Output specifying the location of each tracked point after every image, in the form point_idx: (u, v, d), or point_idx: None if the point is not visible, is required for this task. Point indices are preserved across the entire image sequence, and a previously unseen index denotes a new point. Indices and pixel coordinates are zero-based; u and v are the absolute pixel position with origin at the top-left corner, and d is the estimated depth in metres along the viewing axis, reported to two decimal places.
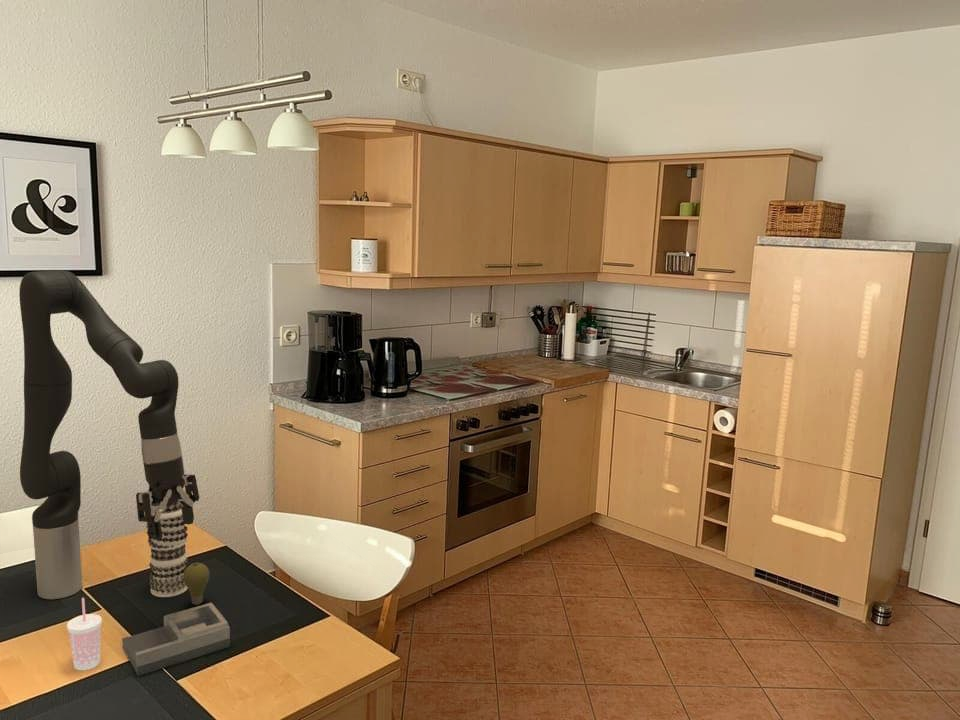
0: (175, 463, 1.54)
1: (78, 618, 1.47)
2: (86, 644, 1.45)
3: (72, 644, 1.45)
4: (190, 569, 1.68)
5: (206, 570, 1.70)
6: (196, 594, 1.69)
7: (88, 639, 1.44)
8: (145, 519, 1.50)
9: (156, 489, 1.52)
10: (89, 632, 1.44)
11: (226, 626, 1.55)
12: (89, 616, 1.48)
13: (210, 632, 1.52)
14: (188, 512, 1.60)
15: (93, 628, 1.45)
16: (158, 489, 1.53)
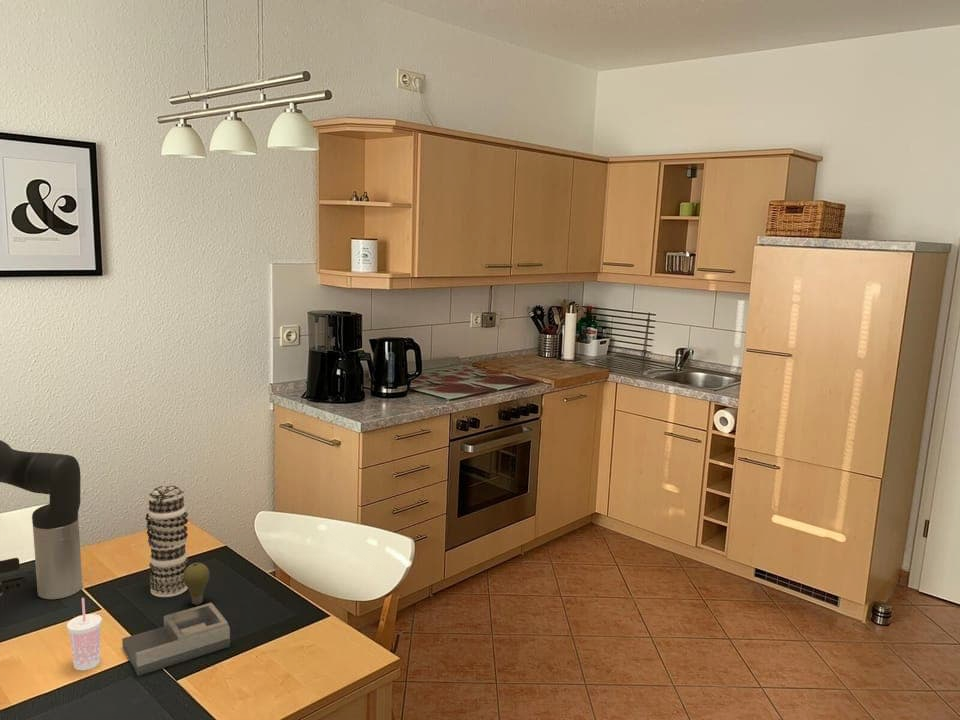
0: None
1: (78, 618, 1.47)
2: (86, 644, 1.45)
3: (72, 644, 1.45)
4: (190, 569, 1.68)
5: (206, 570, 1.70)
6: (196, 594, 1.69)
7: (88, 639, 1.44)
8: None
9: None
10: (89, 632, 1.44)
11: (226, 626, 1.55)
12: (89, 616, 1.48)
13: (210, 632, 1.52)
14: None
15: (93, 628, 1.45)
16: None
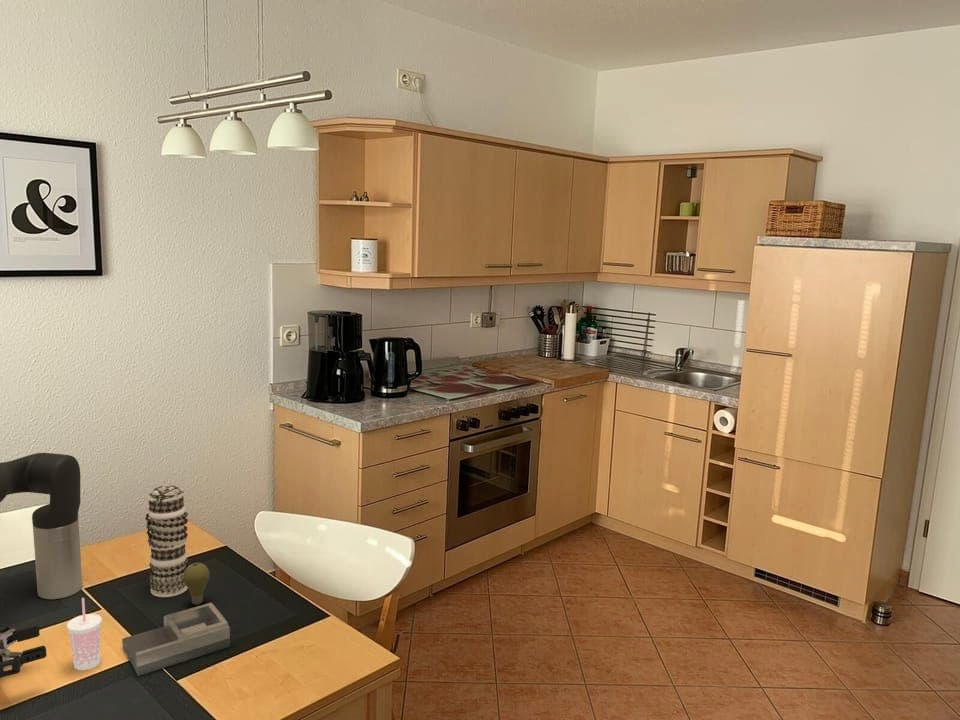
0: None
1: (78, 618, 1.47)
2: (86, 644, 1.45)
3: (72, 644, 1.45)
4: (190, 569, 1.68)
5: (206, 570, 1.70)
6: (196, 594, 1.69)
7: (88, 639, 1.44)
8: None
9: None
10: (89, 632, 1.44)
11: (226, 626, 1.55)
12: (89, 616, 1.48)
13: (210, 632, 1.52)
14: None
15: (93, 628, 1.45)
16: None
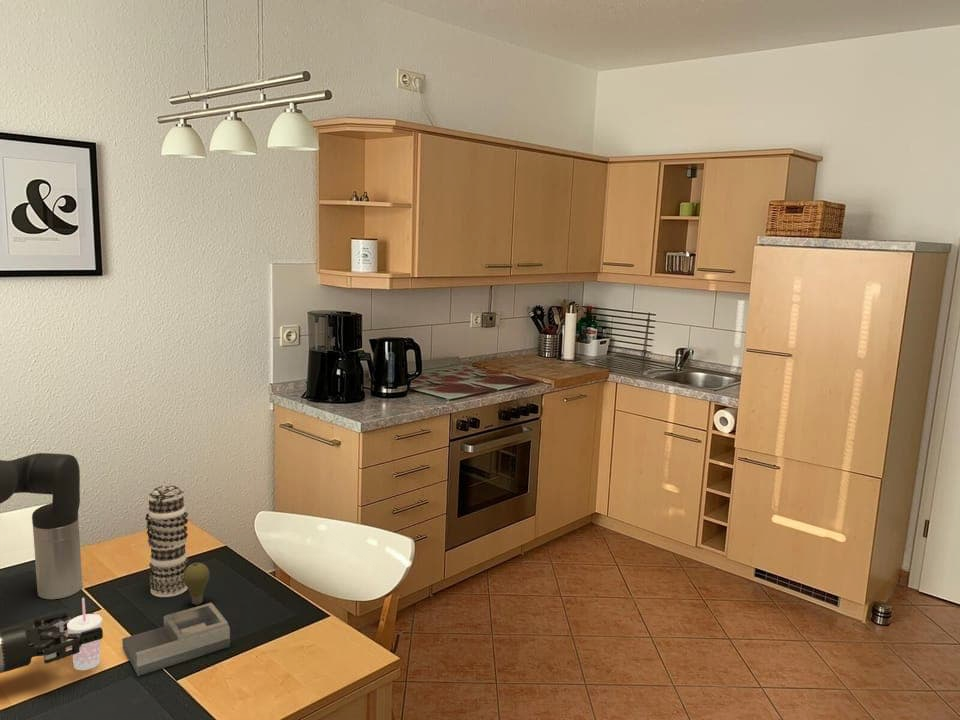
0: None
1: (78, 618, 1.47)
2: (86, 644, 1.45)
3: None
4: (190, 569, 1.68)
5: (206, 570, 1.70)
6: (196, 594, 1.69)
7: None
8: None
9: None
10: None
11: (226, 626, 1.55)
12: (89, 616, 1.48)
13: (210, 632, 1.52)
14: None
15: (93, 628, 1.45)
16: None
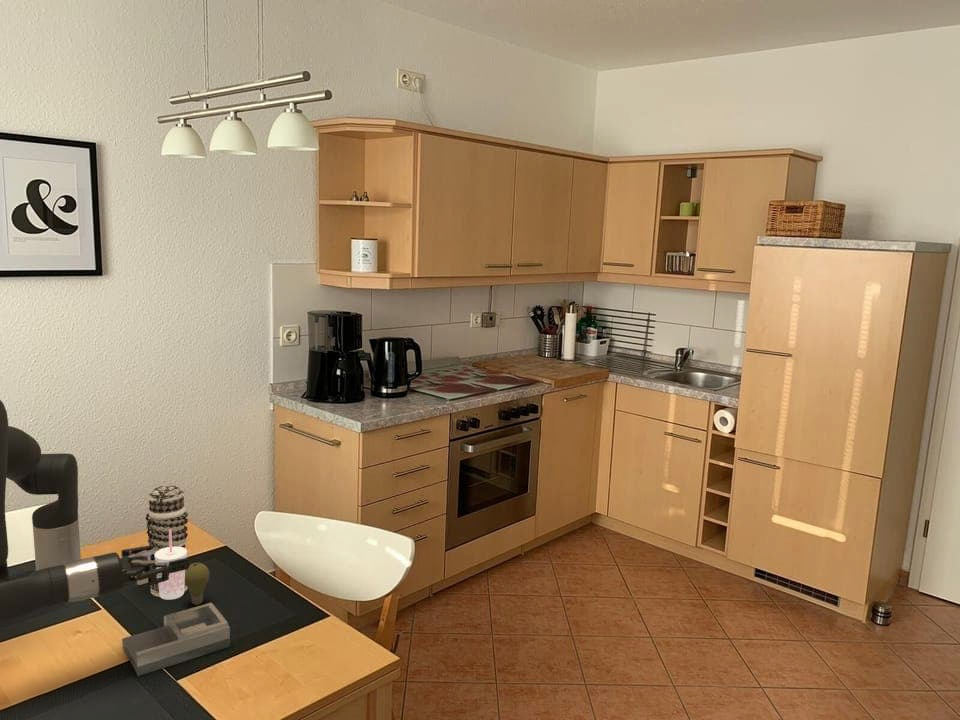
0: None
1: (164, 549, 1.51)
2: (173, 574, 1.49)
3: None
4: (190, 569, 1.68)
5: (206, 570, 1.70)
6: (196, 594, 1.69)
7: None
8: None
9: None
10: None
11: (226, 626, 1.55)
12: (174, 548, 1.52)
13: (210, 632, 1.52)
14: None
15: None
16: None
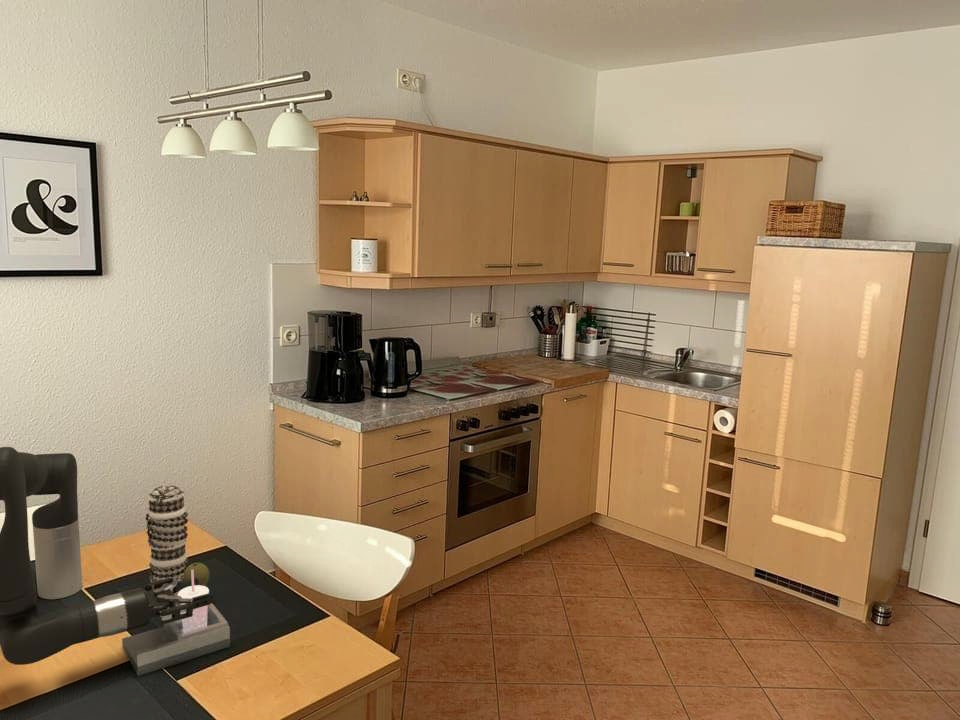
0: None
1: (186, 589, 1.56)
2: (196, 613, 1.53)
3: (183, 613, 1.53)
4: (190, 569, 1.68)
5: (206, 570, 1.70)
6: None
7: (198, 608, 1.53)
8: None
9: None
10: None
11: (226, 626, 1.55)
12: (196, 587, 1.57)
13: (210, 632, 1.52)
14: None
15: None
16: None
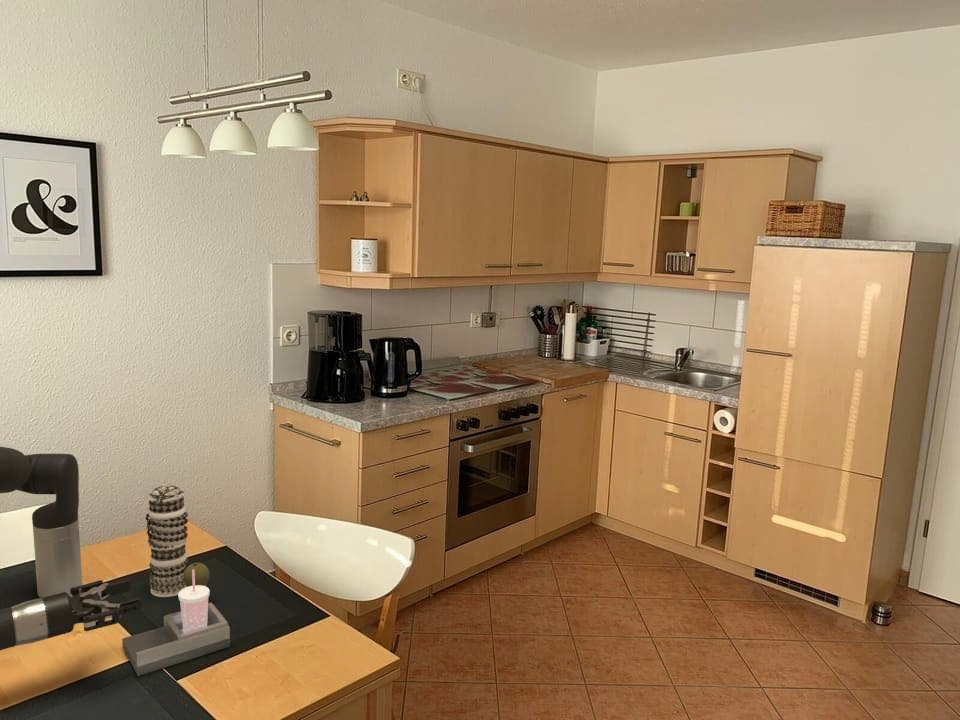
0: None
1: (187, 589, 1.56)
2: (197, 613, 1.53)
3: (183, 613, 1.53)
4: (190, 569, 1.68)
5: (206, 570, 1.70)
6: None
7: (198, 608, 1.53)
8: None
9: None
10: (200, 601, 1.53)
11: (226, 626, 1.55)
12: (197, 587, 1.57)
13: (210, 632, 1.52)
14: None
15: (203, 598, 1.53)
16: None
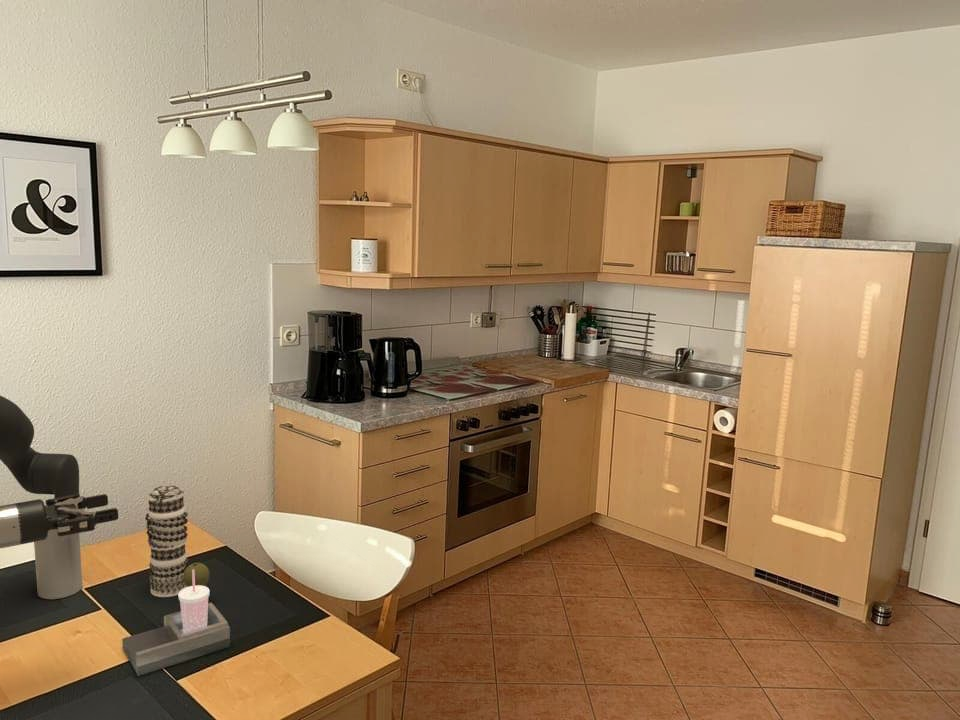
0: None
1: (187, 589, 1.56)
2: (197, 613, 1.53)
3: (183, 613, 1.53)
4: (190, 569, 1.68)
5: (206, 570, 1.70)
6: None
7: (198, 608, 1.53)
8: None
9: None
10: (200, 601, 1.53)
11: (226, 626, 1.55)
12: (197, 587, 1.57)
13: (210, 632, 1.52)
14: None
15: (203, 598, 1.53)
16: None
